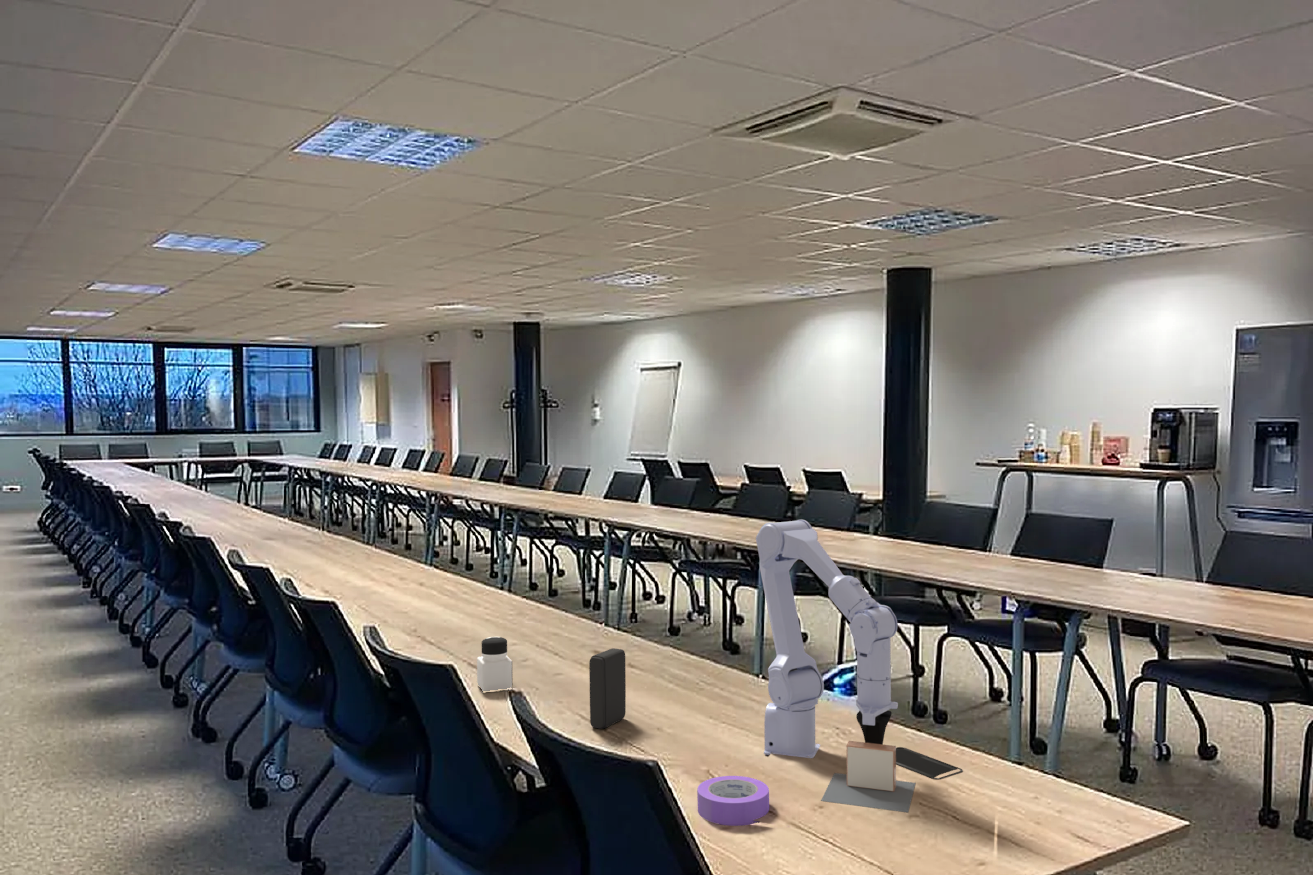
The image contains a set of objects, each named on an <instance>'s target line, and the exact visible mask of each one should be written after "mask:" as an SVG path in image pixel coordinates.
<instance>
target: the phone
mask: <svg viewBox="0 0 1313 875" xmlns="http://www.w3.org/2000/svg"><path fill="white" fill-rule="evenodd" d="M896 766H898V767H901V768H904V769H906V770H909V771H911V772H912V773H913V772H914V773H917V774H919V775H921V776H924V777H927V778H928V779H932V780H942V779H946V778H948V777H952V776H955V775H959V774H961V773H963V769H962V768H961V767H957V766H955V765H952V764H950V763H947V762H945V761H941V760H939V759H936V758H934V757H931V756H928V755H925V754H923V753H920V752H917V751H914V750H912V749H909V748H907V747H904V746H899V747H897V746H896ZM956 770H959V771H956ZM952 771H956V772H953V773H949V772H952ZM946 773H949V774H948V775H944V774H946ZM941 775H944V776H941ZM938 776H940V777H938Z"/></svg>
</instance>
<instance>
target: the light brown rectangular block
mask: <svg viewBox="0 0 1313 875" xmlns="http://www.w3.org/2000/svg"><path fill="white" fill-rule="evenodd" d="M896 748H897V746H896V745H890V744H884V743H883V744H874V743H865V741H864V742H862V741H854V740H848V741H847V744H846V774H847V786H853V787H861V788H869V789H877V790H884V791H892V792H895V788H896V780H897V765H896Z"/></svg>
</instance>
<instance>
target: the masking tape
mask: <svg viewBox="0 0 1313 875" xmlns="http://www.w3.org/2000/svg"><path fill="white" fill-rule="evenodd" d="M696 789H697V791H696V793H697V797H696V798H697V813H698V815H699V816H700V817H701V818H702V819H703V820H706V821H708V822H711V823H713V824H716V825H722V826H733V827H734V826H735V827H738V826H739V827H740V826H747V825H748V826H749V825H754V824H757V823H760V822H761V821H760V820H758V819H760V818H762V817H765V816H766V815H767V814H768V813H769V811H770V789H769V786H768V785H767V784H766V783H764V782H763V781H761V780H759V779H757V778H752V777H749V776H744V775H743V776H741V775H724V776H723V775H722V776H716V777H712V778H710V779H705V780H704V781H702V782H701V783H700V784H699V785H698V786H697V788H696Z"/></svg>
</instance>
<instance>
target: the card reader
mask: <svg viewBox="0 0 1313 875" xmlns="http://www.w3.org/2000/svg"><path fill="white" fill-rule="evenodd" d="M588 663H589V664H588V665H589V668H588V669H589V674H588V675H589V716H590V717H589V718H590V721H589V722H590V725H591V727H592V728H596V729H603V730H604V729H606V728H608V727H610V726H612V725H614V724H616V723H617V722H620V721H622V720H623V719H624V718H625V716H626V713H627V712H626V708H627V707H626V705H627V704H626V703H627V702H626V698H627V696H626V693H627V692H626V690H627V689H626V688H627V687H626V686H627V685H626V684H627V683H626V651H625V650H624V649H621V648H613V647H612V648H609V649H607V650H604V651H602V652H598V653H597V654H594V655H592V656H591V657H590V659H589V662H588Z"/></svg>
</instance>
